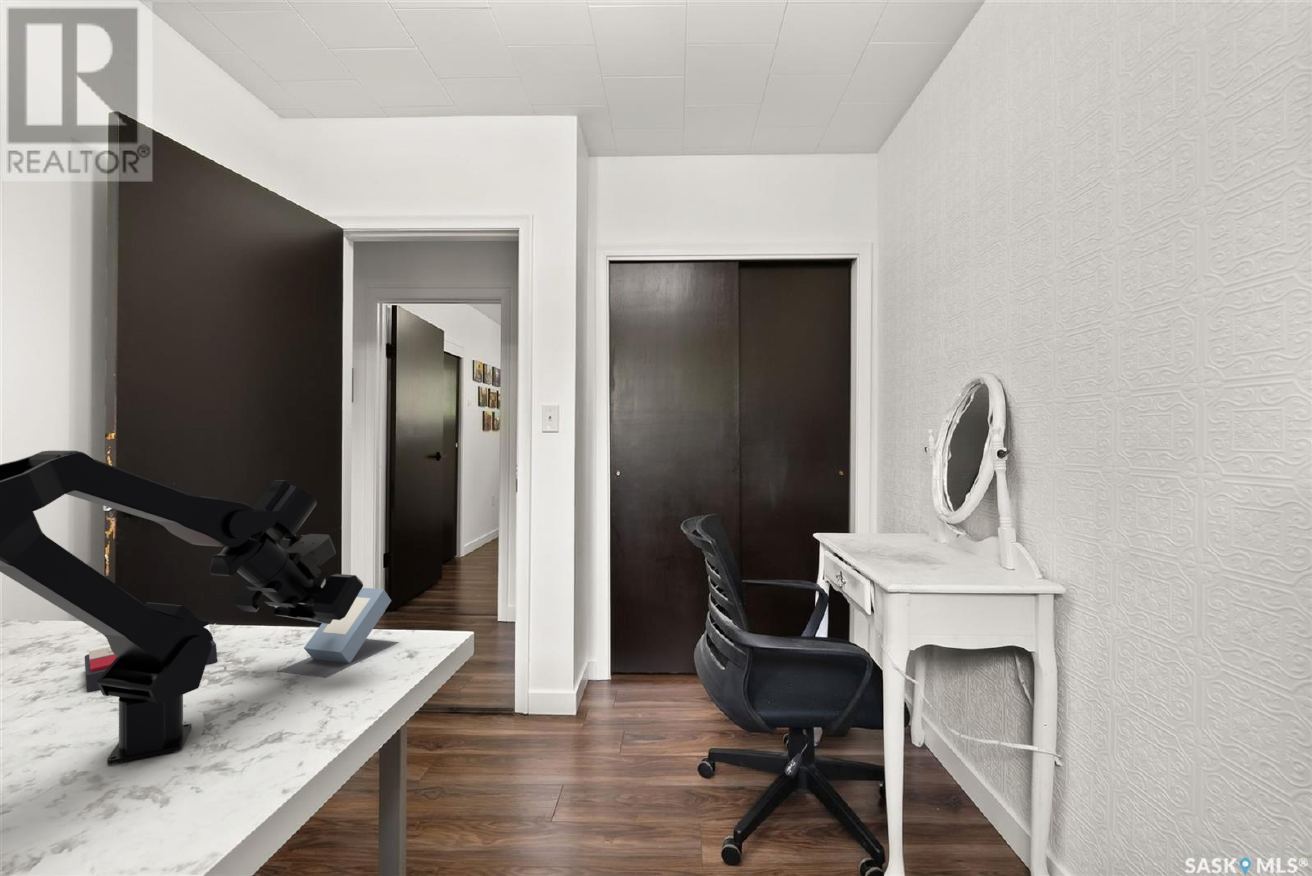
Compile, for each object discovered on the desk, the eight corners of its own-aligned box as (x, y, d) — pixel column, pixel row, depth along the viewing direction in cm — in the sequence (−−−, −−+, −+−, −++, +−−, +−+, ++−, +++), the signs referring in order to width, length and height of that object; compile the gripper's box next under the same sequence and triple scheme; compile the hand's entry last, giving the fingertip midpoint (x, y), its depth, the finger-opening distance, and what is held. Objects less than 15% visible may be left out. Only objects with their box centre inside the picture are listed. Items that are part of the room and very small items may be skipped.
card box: (340, 652, 93) (383, 589, 102) (303, 647, 95) (349, 586, 104) (349, 663, 95) (391, 600, 104) (313, 659, 97) (357, 597, 106)
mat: (325, 680, 89) (325, 677, 89) (276, 673, 92) (276, 671, 92) (399, 644, 105) (399, 642, 105) (355, 640, 107) (355, 637, 107)
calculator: (83, 650, 93) (205, 623, 103) (86, 677, 93) (207, 649, 103) (85, 669, 85) (216, 639, 95) (87, 700, 85) (218, 666, 96)
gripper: (353, 521, 88) (404, 579, 98) (251, 516, 93) (310, 573, 103) (308, 589, 80) (370, 644, 91) (200, 580, 85) (270, 634, 96)
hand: (329, 620), depth 96 cm, fingers closed
